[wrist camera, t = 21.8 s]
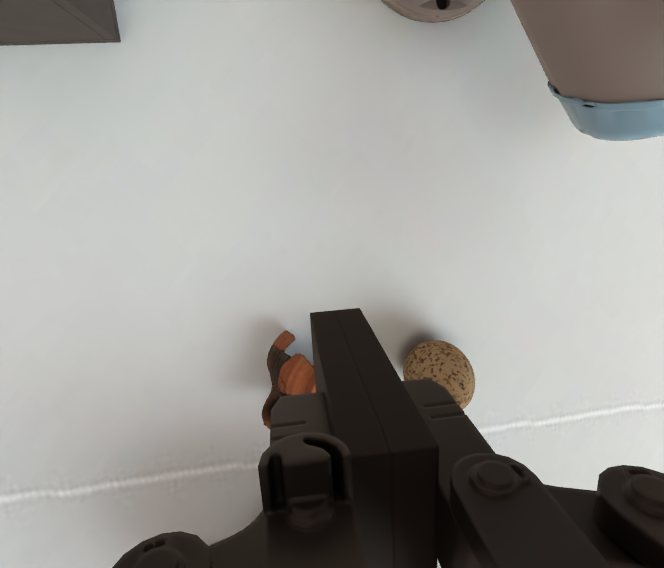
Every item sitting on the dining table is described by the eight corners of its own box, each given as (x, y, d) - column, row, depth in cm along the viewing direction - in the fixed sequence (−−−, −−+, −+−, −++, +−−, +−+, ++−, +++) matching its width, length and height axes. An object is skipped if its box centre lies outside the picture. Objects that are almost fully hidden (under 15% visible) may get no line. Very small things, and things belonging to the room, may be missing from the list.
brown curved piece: (295, 304, 47) (341, 336, 41) (339, 340, 53) (385, 373, 47) (225, 393, 45) (262, 440, 39) (279, 420, 52) (318, 464, 46)
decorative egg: (387, 341, 49) (414, 384, 39) (446, 320, 49) (486, 358, 40) (403, 393, 51) (432, 445, 42) (459, 373, 51) (501, 420, 42)
